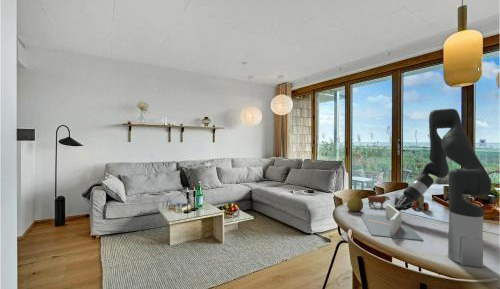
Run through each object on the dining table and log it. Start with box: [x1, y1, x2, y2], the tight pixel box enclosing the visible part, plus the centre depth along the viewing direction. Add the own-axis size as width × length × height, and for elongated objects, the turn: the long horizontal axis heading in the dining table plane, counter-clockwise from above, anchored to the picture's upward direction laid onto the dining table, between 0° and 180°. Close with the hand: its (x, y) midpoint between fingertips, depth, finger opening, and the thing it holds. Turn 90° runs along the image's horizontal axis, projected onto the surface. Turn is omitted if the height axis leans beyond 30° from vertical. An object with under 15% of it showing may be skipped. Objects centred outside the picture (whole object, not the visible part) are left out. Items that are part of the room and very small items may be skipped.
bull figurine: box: [367, 194, 391, 208], centre depth 157 cm, size 4×13×8 cm, turn 78°
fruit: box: [346, 191, 364, 213], centre depth 148 cm, size 9×9×12 cm
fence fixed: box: [390, 211, 402, 236], centre depth 114 cm, size 16×2×8 cm, turn 139°
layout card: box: [359, 213, 425, 242], centre depth 122 cm, size 32×20×1 cm, turn 164°
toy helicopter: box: [411, 194, 430, 211], centre depth 157 cm, size 8×21×14 cm, turn 159°
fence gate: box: [385, 203, 400, 219], centre depth 128 cm, size 14×2×7 cm, turn 169°
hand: (393, 213), depth 131 cm, fingers closed
